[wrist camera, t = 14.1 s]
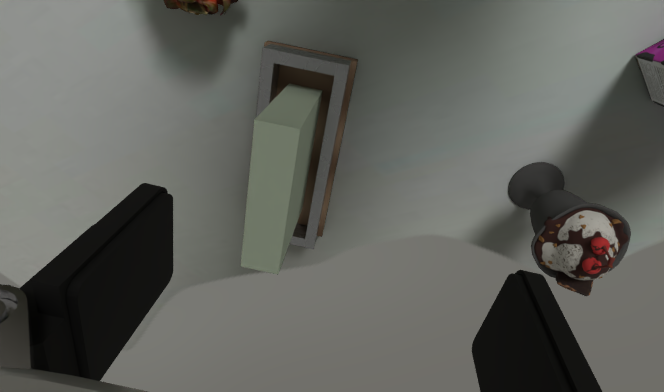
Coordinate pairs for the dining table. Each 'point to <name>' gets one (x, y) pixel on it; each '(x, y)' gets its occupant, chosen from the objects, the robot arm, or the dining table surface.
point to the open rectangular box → (336, 83)
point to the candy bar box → (653, 70)
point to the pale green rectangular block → (278, 175)
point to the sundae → (568, 229)
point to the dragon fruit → (199, 5)
